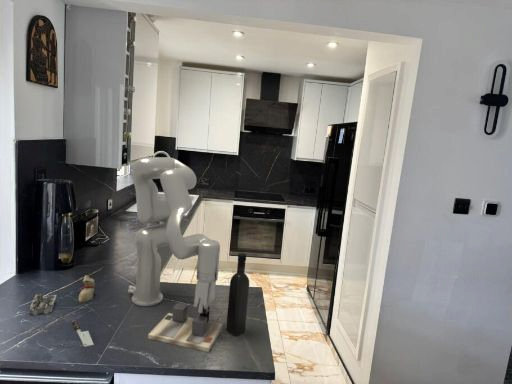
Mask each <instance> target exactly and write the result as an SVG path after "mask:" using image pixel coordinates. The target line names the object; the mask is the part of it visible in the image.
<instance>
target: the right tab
mask: <svg viewBox="0 0 512 384" xmlns="http://www.w3.org/2000/svg"><path fill="white" fill-rule="evenodd" d="M193 318H194V320H193V321H192V334H193V335H198V336H203V335H204V333H205V332H206V330H207V317H203V316H200V315H199V314H197V315H196V316H195V317H193Z"/></svg>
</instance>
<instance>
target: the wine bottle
mask: <svg viewBox="0 0 512 384" xmlns="http://www.w3.org/2000/svg"><path fill="white" fill-rule="evenodd" d="M246 261H247V254H246V253H243V252H239V253H238V254H237V267H236V272H235V273H233V275H232V276H231V277H230V278H231V279H230V281H229V288H228V289H229V292H228V302H227V315H226V324H225V326H226V328H225V330H226V331H227V332H228V333H229V334H231V335H232V336H234V337H236V336H240V335H241V334H244V333H245V332H246V324H247V313H248V304H249V303H248V302H249V292H250V278H249V277H248V275H247V274H246V272H245V271H246V270H245V269H246Z"/></svg>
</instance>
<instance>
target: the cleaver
mask: <svg viewBox="0 0 512 384" xmlns="http://www.w3.org/2000/svg"><path fill="white" fill-rule="evenodd" d="M71 324H72V327H73V329H74V331H75V332H76V333H77V335H78V336H79V339H80V341H81V343H82V345H83V347H84V348H87V347H91V346H94V345H95V344H94V342H93V339H92V337H91V333H90V332H89V330H85V331H82V329H81V327H80V324H79V322H77V320H75V319H74V320H72V321H71Z"/></svg>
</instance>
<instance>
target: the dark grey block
mask: <svg viewBox="0 0 512 384" xmlns="http://www.w3.org/2000/svg"><path fill="white" fill-rule="evenodd" d="M172 314H173V315H172V321H177V322H183V321H184V320H185V319H186V317H188V315H187V314H188V304H184V303H180V302H177V303H176V304H175V305H174V306H173V307H172Z"/></svg>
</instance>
